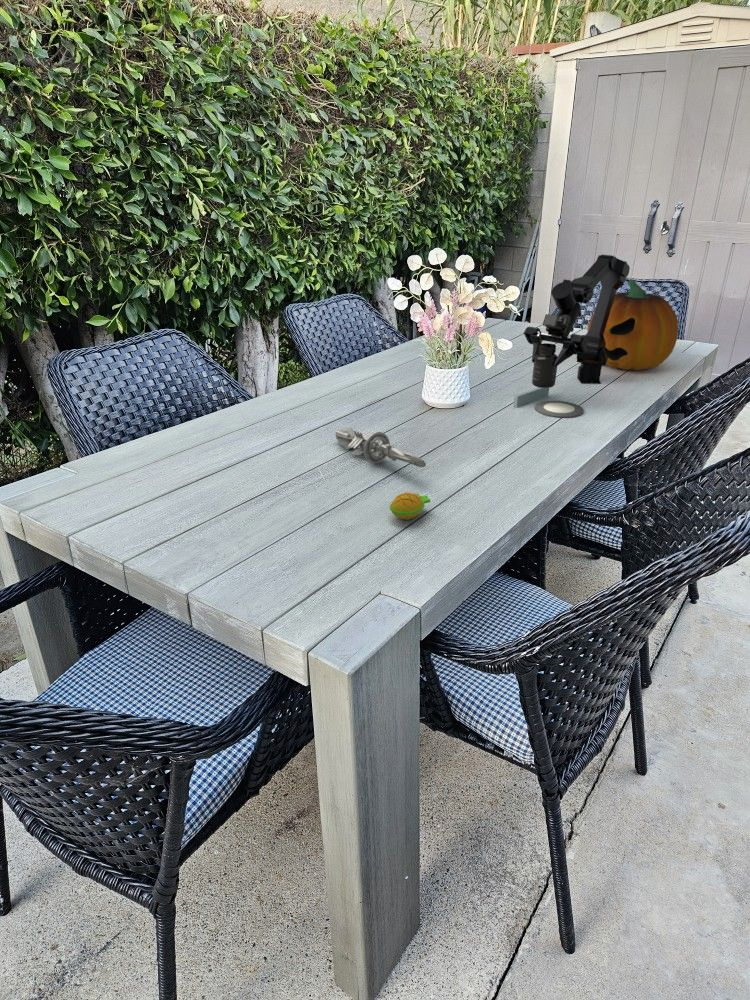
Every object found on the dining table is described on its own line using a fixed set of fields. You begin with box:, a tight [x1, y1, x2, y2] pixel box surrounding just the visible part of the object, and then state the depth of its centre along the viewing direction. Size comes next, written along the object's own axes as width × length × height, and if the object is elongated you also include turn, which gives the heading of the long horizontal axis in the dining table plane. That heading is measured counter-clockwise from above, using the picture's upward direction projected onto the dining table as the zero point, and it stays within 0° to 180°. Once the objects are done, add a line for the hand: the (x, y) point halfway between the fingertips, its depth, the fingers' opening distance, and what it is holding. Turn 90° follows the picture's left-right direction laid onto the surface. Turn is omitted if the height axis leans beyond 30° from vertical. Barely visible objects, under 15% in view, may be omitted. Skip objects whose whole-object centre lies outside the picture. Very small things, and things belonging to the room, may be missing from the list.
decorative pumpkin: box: [586, 278, 679, 371], centre depth 241 cm, size 30×30×30 cm
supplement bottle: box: [531, 342, 558, 389], centre depth 201 cm, size 7×7×12 cm
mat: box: [534, 400, 584, 419], centre depth 204 cm, size 14×14×1 cm
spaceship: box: [335, 427, 427, 468], centre depth 166 cm, size 8×35×8 cm
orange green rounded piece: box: [389, 492, 431, 521], centre depth 143 cm, size 7×10×5 cm
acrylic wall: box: [513, 387, 550, 408], centre depth 210 cm, size 16×1×4 cm, turn 132°
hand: (543, 364), depth 200 cm, fingers closed on supplement bottle, 7 cm apart
